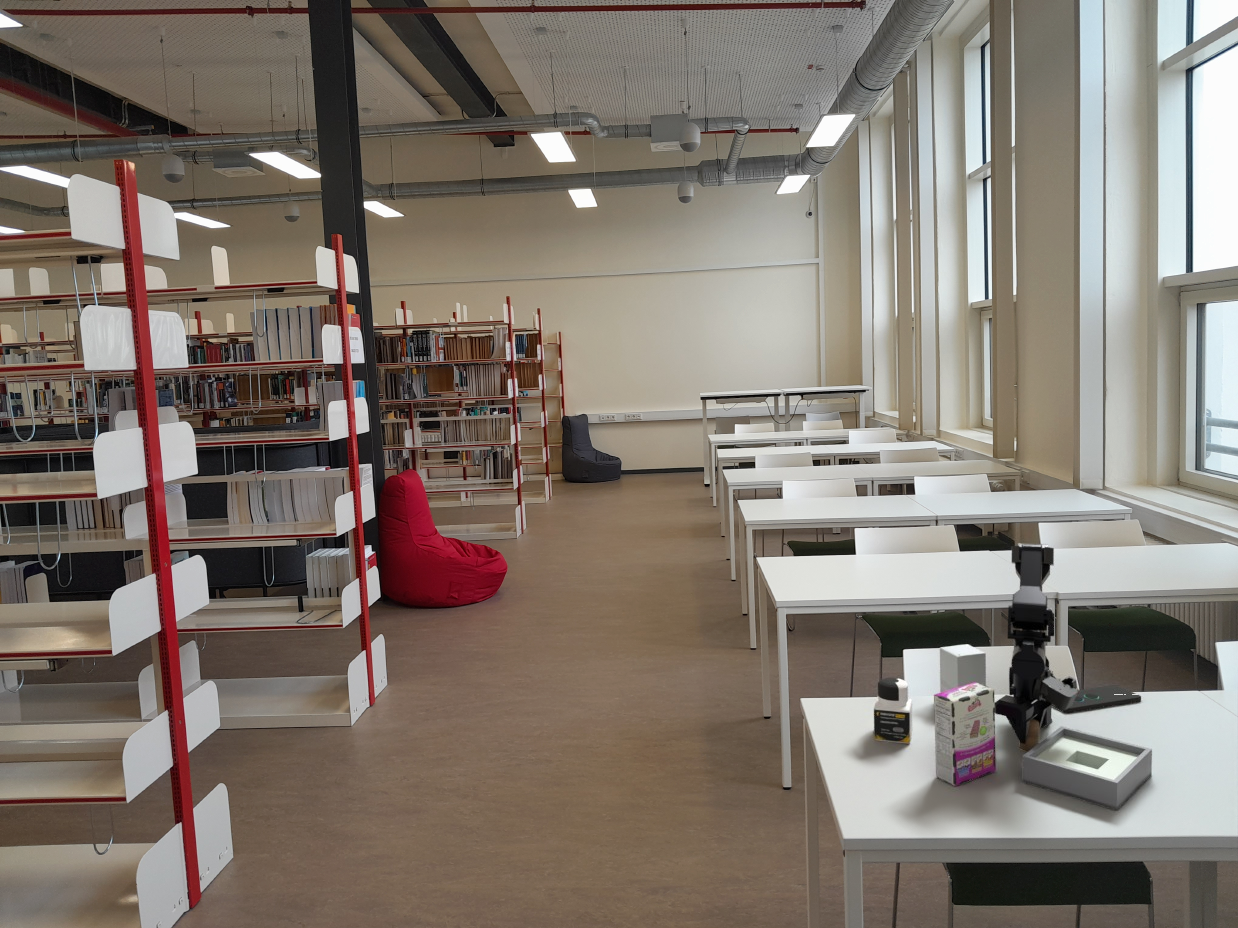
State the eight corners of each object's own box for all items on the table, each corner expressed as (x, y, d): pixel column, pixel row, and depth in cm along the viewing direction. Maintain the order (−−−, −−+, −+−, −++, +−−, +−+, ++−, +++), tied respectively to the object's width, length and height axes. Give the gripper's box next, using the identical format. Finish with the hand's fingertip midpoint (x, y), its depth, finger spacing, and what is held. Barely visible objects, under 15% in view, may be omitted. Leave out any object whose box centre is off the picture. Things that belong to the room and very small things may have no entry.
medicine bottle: (874, 740, 184) (873, 684, 183) (877, 727, 191) (876, 673, 190) (910, 744, 182) (909, 687, 180) (912, 730, 188) (911, 676, 187)
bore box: (1022, 781, 164) (1022, 755, 163) (1061, 750, 176) (1061, 725, 175) (1116, 810, 152) (1117, 782, 152) (1151, 774, 164) (1151, 748, 164)
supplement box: (987, 707, 199) (987, 652, 197) (957, 711, 197) (956, 656, 196) (968, 696, 206) (968, 643, 205) (939, 699, 205) (938, 646, 203)
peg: (1016, 748, 178) (1016, 722, 177) (1023, 742, 180) (1023, 716, 179) (1034, 753, 175) (1034, 726, 174) (1042, 747, 177) (1042, 721, 177)
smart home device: (1040, 695, 201) (1114, 683, 206) (1040, 702, 202) (1114, 690, 206) (1066, 708, 193) (1143, 695, 198) (1066, 715, 194) (1143, 703, 198)
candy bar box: (975, 762, 172) (974, 680, 171) (996, 772, 168) (996, 688, 166) (933, 776, 167) (932, 692, 166) (954, 787, 163) (953, 701, 161)
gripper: (1052, 684, 163) (1052, 766, 165) (1090, 659, 176) (1089, 734, 178) (992, 671, 172) (992, 749, 173) (1033, 648, 184) (1033, 720, 186)
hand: (1029, 738), depth 177 cm, fingers open, 6 cm apart
